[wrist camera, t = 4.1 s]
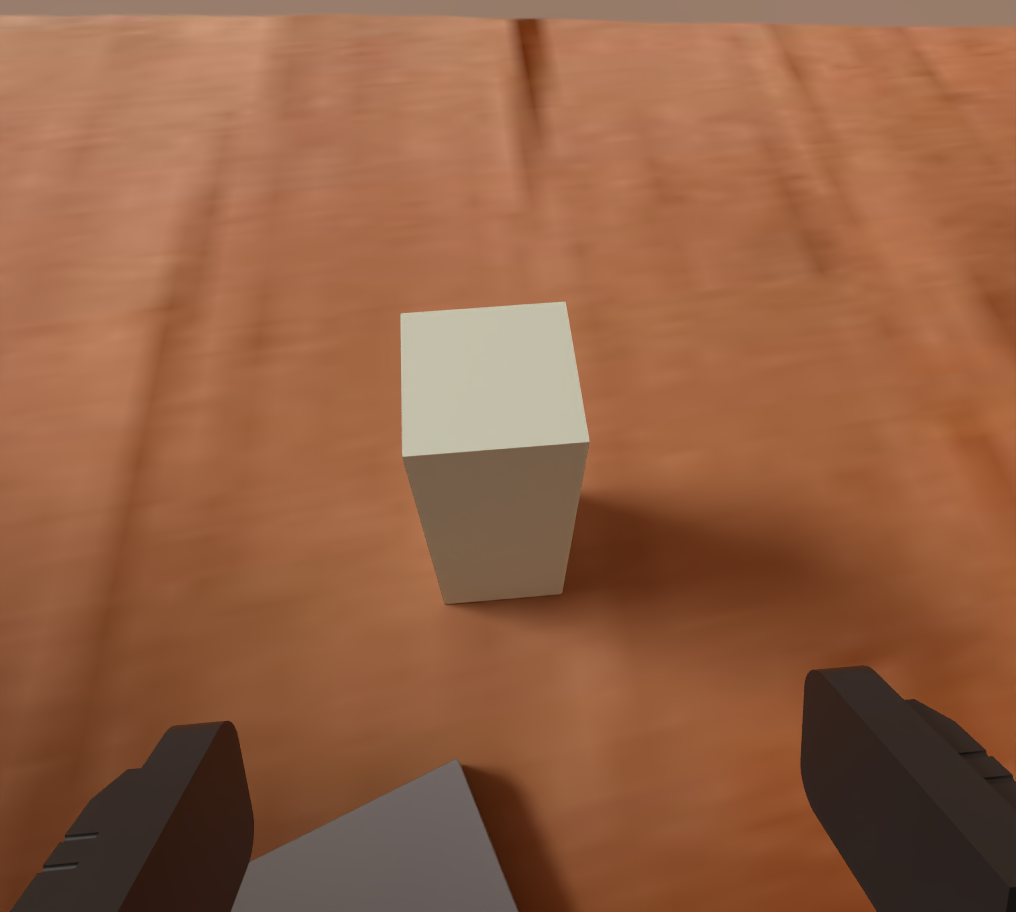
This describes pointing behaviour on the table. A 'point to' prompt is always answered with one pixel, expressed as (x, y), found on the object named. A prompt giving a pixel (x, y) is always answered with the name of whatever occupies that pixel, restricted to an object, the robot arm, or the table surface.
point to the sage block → (494, 446)
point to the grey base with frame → (388, 857)
